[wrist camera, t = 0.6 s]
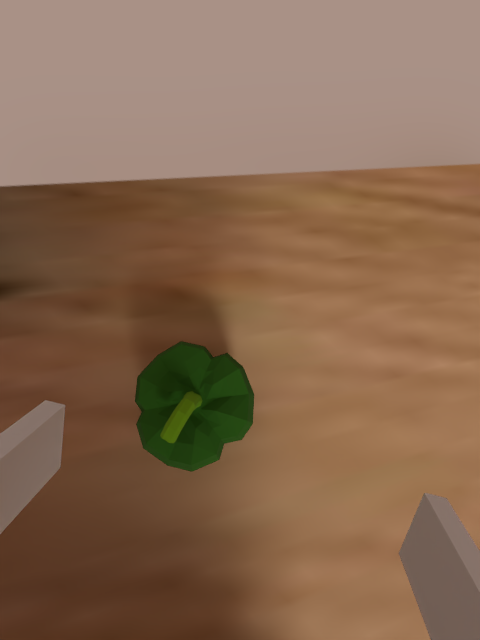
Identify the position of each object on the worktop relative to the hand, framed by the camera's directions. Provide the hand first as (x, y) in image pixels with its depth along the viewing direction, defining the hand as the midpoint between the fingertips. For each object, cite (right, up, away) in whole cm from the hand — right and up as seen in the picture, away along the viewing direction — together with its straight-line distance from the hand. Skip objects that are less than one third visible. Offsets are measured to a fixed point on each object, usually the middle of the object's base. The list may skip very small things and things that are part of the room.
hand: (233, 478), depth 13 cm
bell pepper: (-4, -2, +18) cm, 18 cm away
